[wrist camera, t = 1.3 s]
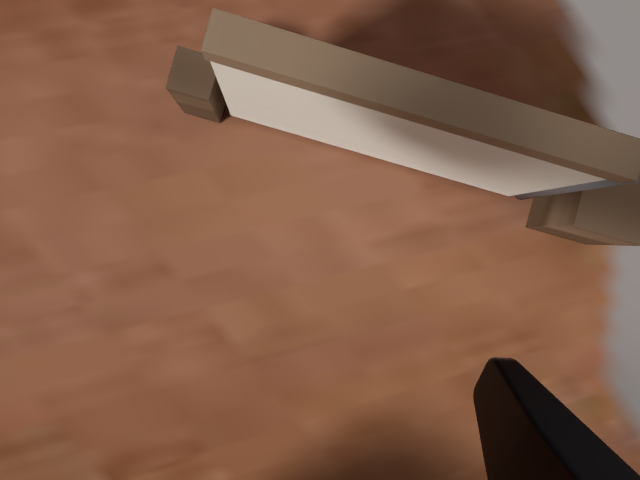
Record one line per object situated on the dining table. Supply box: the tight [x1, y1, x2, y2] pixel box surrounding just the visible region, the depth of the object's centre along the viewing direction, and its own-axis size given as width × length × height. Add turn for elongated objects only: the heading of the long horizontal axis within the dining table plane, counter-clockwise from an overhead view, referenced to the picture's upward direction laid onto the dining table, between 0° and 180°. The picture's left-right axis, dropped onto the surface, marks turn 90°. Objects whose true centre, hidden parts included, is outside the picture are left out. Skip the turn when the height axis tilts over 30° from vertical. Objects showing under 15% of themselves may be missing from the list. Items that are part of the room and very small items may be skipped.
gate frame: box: [166, 46, 640, 246], centre depth 22 cm, size 3×19×4 cm, turn 74°
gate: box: [201, 8, 640, 200], centre depth 19 cm, size 1×14×9 cm, turn 75°
